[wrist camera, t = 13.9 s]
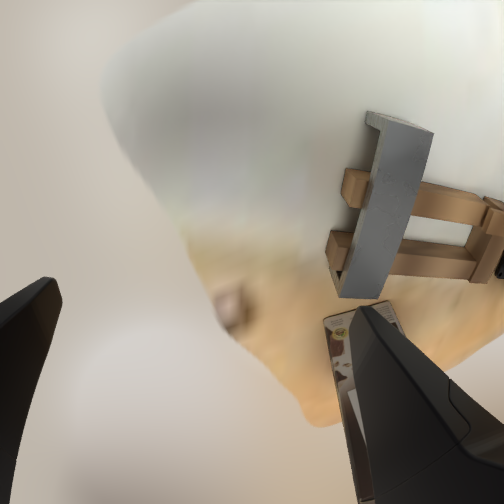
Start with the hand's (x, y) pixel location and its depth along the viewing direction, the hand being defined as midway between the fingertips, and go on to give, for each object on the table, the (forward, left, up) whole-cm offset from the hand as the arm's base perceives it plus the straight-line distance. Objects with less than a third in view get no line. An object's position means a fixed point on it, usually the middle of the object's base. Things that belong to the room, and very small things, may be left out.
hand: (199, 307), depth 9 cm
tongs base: (-15, +2, -13) cm, 20 cm away
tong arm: (-15, 0, -12) cm, 19 cm away
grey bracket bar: (-10, +1, -12) cm, 16 cm away
